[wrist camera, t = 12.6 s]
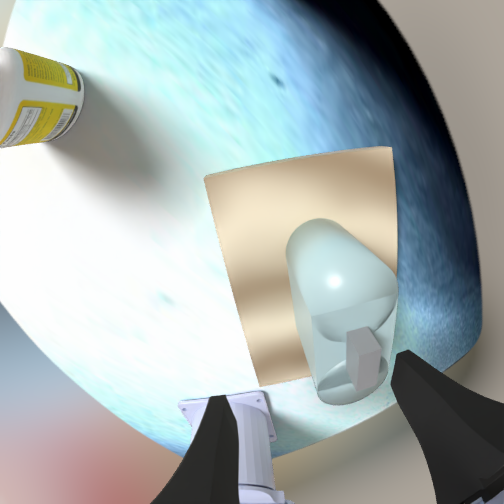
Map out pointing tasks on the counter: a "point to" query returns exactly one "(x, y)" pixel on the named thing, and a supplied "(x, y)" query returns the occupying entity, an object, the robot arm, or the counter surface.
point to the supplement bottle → (36, 98)
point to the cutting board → (281, 228)
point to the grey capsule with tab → (341, 310)
